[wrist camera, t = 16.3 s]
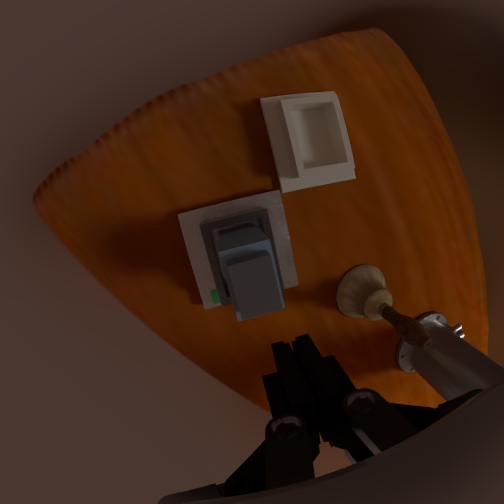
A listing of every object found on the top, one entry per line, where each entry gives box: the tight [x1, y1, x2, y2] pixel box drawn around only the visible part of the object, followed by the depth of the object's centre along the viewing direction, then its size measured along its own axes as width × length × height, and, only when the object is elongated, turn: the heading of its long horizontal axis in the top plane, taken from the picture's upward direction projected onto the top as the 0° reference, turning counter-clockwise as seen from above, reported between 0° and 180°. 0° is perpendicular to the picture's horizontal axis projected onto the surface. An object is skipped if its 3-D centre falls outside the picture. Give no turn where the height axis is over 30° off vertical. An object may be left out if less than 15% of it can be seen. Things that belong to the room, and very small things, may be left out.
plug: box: [218, 222, 285, 321], centre depth 26 cm, size 4×6×12 cm, turn 14°
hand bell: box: [336, 264, 432, 350], centre depth 30 cm, size 8×8×16 cm
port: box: [178, 190, 298, 309], centre depth 31 cm, size 12×12×5 cm
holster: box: [259, 91, 356, 193], centre depth 30 cm, size 10×12×4 cm
